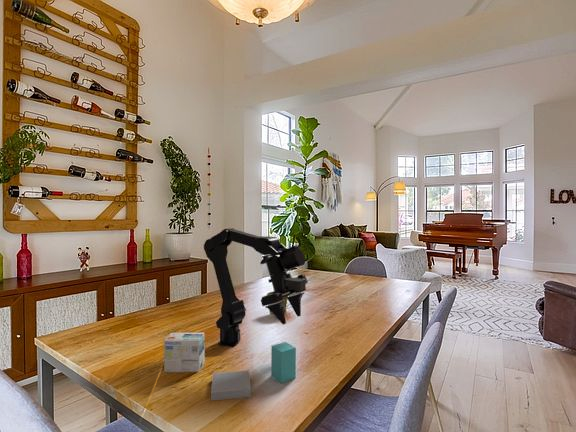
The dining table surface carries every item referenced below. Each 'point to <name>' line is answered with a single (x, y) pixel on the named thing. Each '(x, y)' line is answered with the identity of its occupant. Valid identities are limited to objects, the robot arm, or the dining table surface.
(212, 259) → the robot arm
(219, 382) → the grey slab
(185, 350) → the light bulb box
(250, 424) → the dining table surface
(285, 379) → the teal block
